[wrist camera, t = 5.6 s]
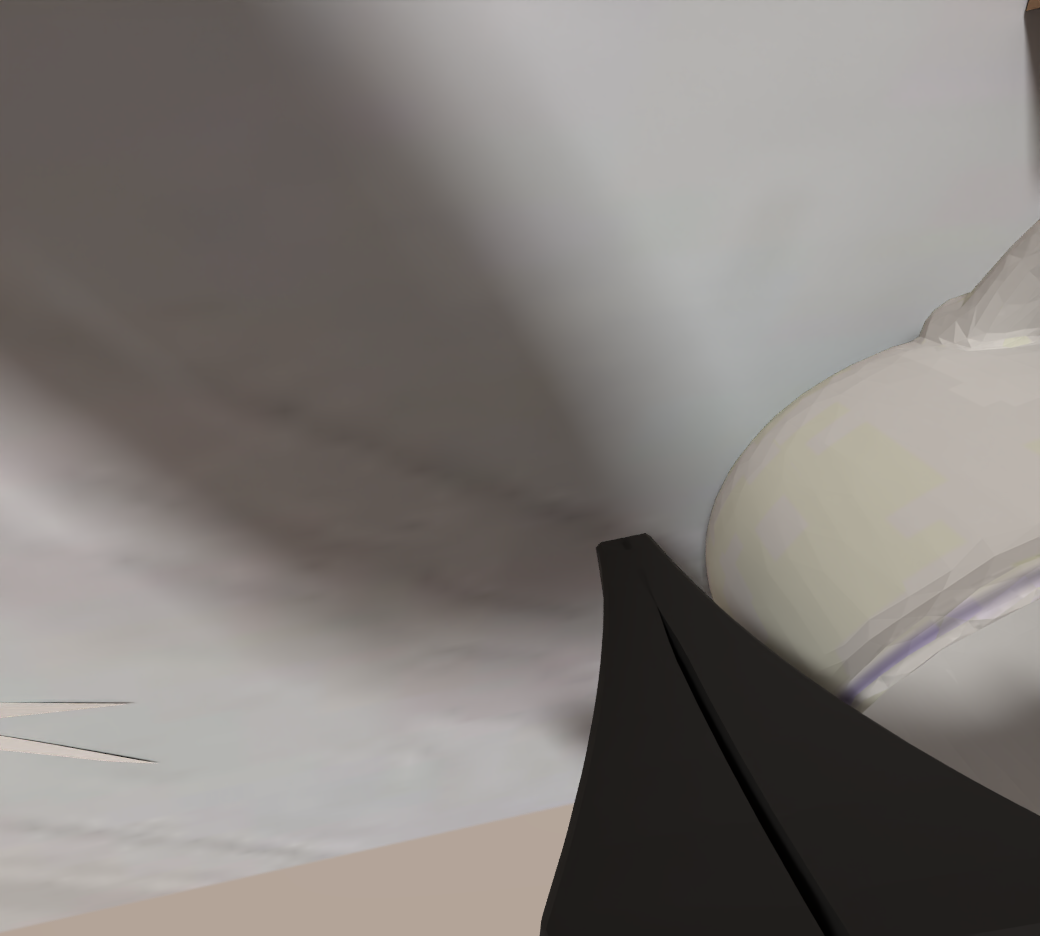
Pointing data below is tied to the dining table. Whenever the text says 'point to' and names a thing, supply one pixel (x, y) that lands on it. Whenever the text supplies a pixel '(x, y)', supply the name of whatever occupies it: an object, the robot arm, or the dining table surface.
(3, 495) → the dining table surface
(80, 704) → the scissors
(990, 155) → the dining table surface
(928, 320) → the teacup
